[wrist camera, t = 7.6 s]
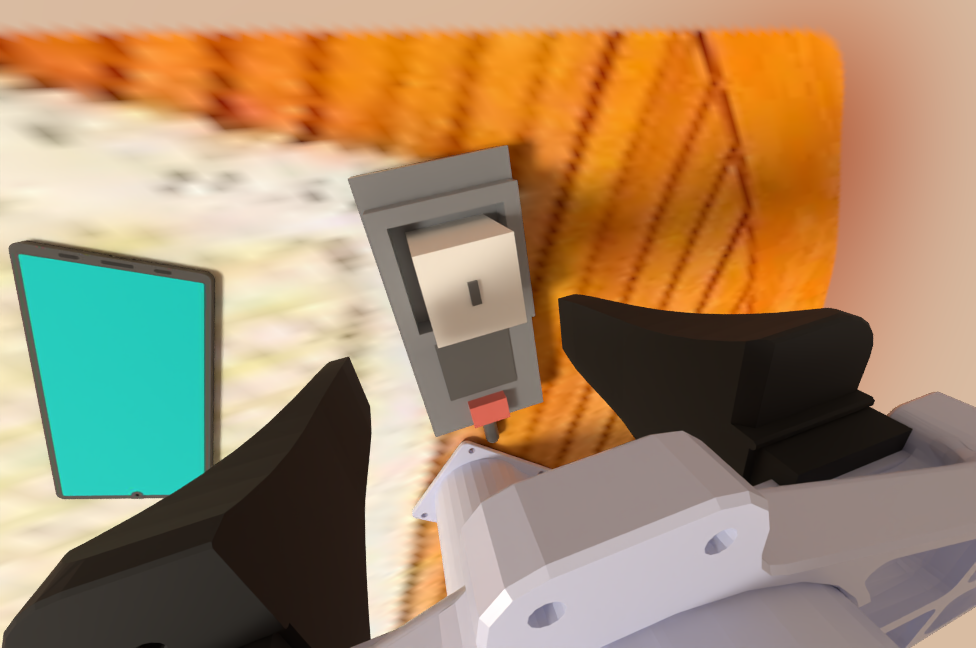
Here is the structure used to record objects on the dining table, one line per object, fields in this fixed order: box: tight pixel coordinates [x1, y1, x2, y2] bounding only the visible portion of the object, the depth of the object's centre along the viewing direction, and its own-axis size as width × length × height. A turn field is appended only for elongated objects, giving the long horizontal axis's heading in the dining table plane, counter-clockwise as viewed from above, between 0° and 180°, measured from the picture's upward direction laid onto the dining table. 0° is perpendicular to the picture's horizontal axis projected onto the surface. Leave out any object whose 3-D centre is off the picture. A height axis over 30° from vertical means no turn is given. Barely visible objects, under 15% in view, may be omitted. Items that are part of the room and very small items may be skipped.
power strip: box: [348, 145, 543, 443], centre depth 21 cm, size 20×8×4 cm, turn 11°
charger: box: [405, 214, 527, 348], centre depth 16 cm, size 4×4×5 cm
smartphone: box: [9, 241, 215, 499], centre depth 19 cm, size 7×1×15 cm
